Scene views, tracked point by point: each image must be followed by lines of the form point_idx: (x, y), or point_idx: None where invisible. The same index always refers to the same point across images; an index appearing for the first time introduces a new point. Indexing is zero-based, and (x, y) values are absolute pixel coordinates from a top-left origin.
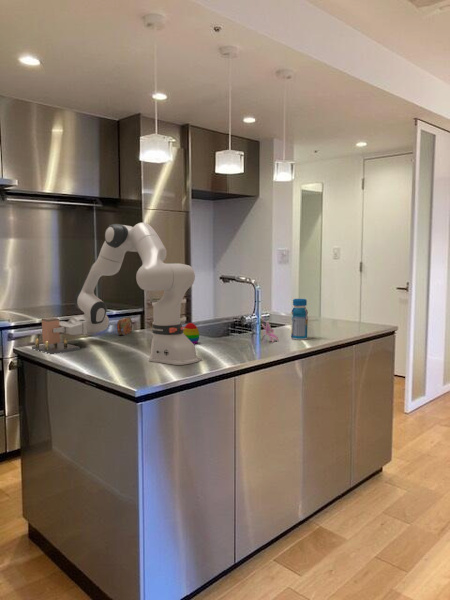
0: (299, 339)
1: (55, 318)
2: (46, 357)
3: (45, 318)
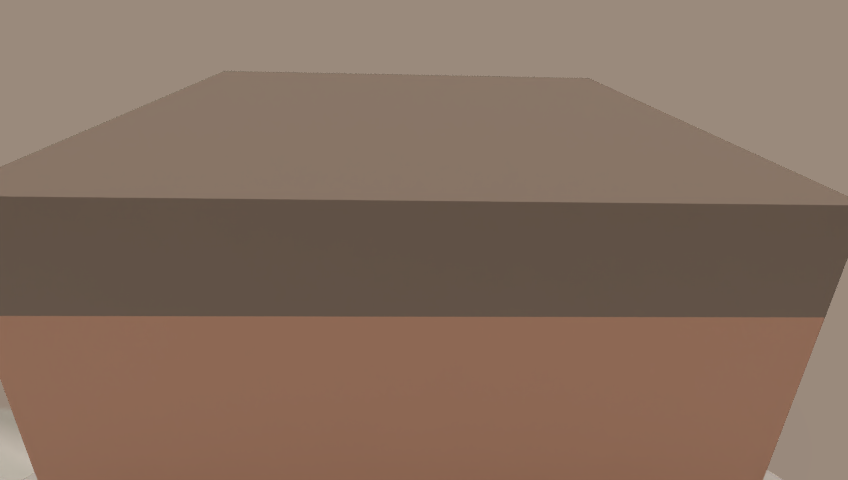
0: None
1: (237, 151)
2: (5, 428)
3: (576, 93)
